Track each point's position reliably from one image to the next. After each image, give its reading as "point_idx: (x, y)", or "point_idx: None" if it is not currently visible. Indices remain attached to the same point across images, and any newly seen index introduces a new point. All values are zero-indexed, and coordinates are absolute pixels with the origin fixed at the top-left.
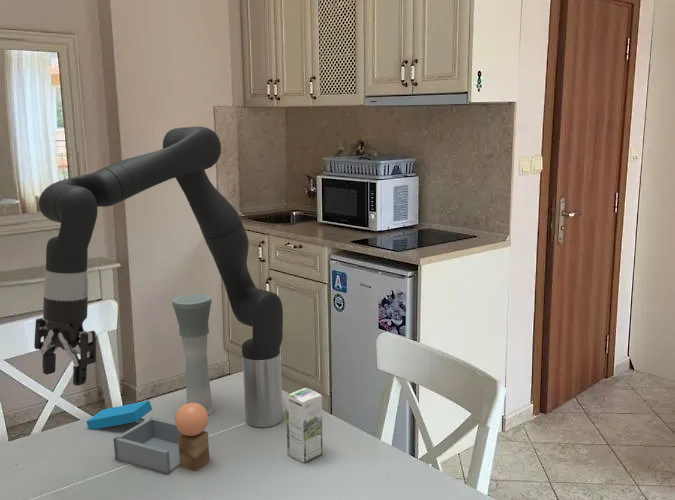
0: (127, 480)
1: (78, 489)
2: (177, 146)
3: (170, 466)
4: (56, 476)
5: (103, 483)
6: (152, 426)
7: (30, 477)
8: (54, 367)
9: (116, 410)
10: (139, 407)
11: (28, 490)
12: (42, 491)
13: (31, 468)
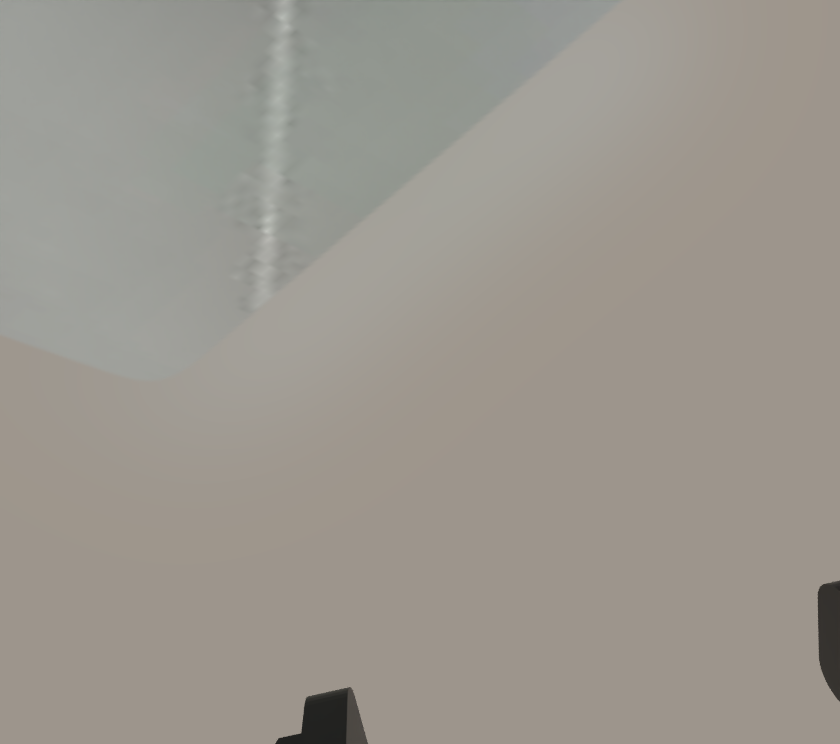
0: (415, 25)
1: (324, 205)
2: None
3: None
4: (159, 214)
5: (357, 112)
6: None
7: (95, 285)
8: (352, 735)
9: None
10: None
11: (191, 330)
12: (236, 300)
13: (20, 251)
